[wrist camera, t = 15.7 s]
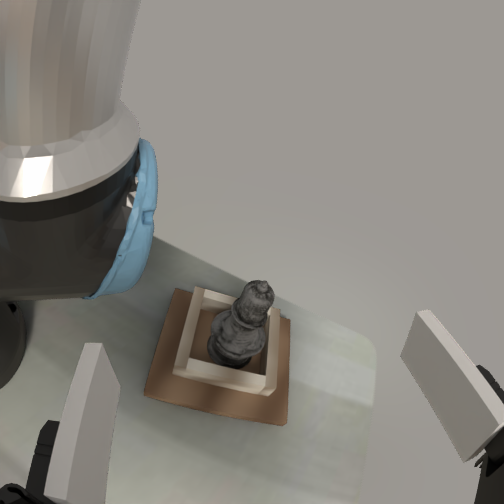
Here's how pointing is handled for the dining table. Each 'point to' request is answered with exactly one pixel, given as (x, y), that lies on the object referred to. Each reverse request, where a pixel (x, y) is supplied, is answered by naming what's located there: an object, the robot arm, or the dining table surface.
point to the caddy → (212, 375)
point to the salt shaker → (241, 327)
